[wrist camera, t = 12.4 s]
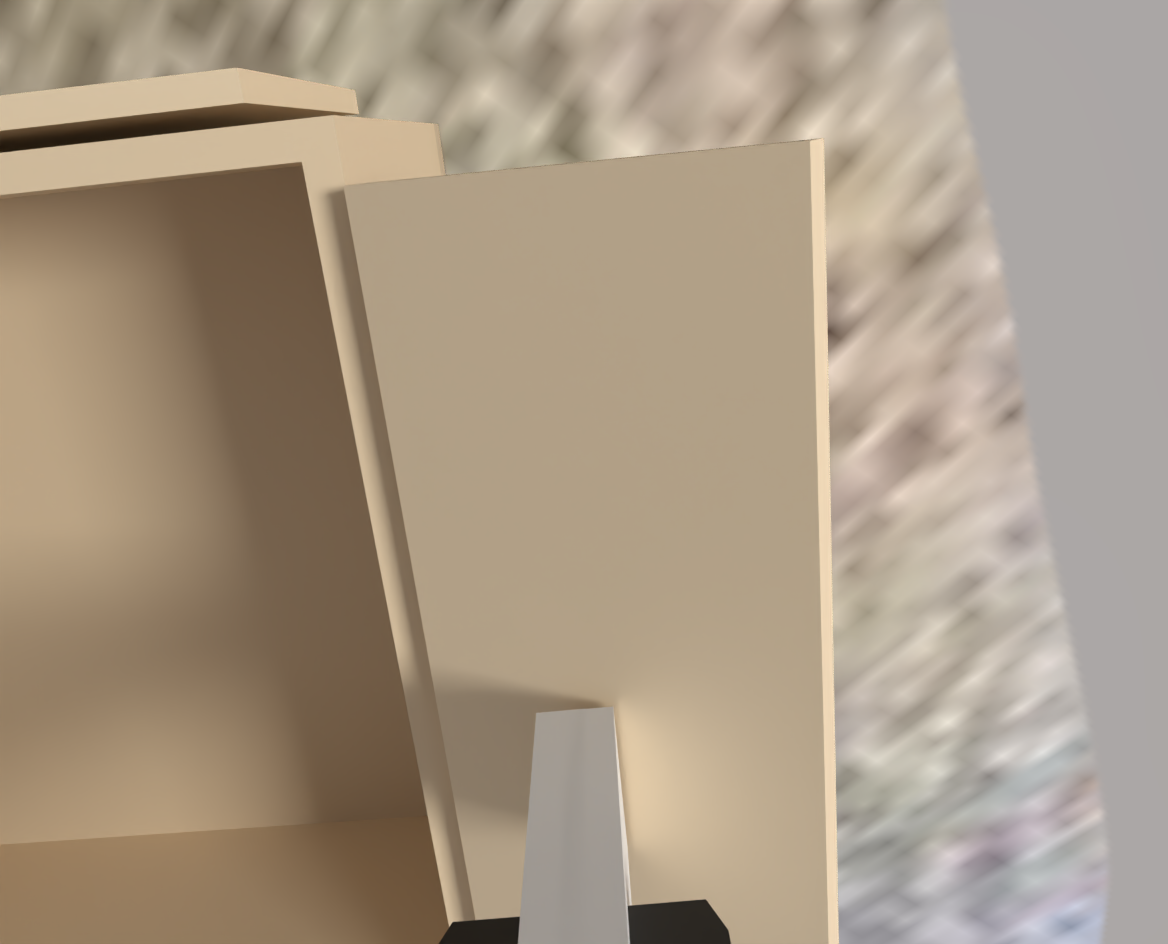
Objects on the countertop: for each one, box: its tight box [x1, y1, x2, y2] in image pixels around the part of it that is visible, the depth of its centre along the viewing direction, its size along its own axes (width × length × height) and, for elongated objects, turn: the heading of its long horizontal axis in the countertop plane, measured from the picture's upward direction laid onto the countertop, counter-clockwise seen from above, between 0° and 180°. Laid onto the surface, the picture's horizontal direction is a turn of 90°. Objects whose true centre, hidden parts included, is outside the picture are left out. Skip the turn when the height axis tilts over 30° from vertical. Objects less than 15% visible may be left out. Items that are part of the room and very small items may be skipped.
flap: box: [343, 138, 839, 944], centre depth 15 cm, size 18×1×7 cm
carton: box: [0, 68, 476, 944], centre depth 22 cm, size 22×22×9 cm
